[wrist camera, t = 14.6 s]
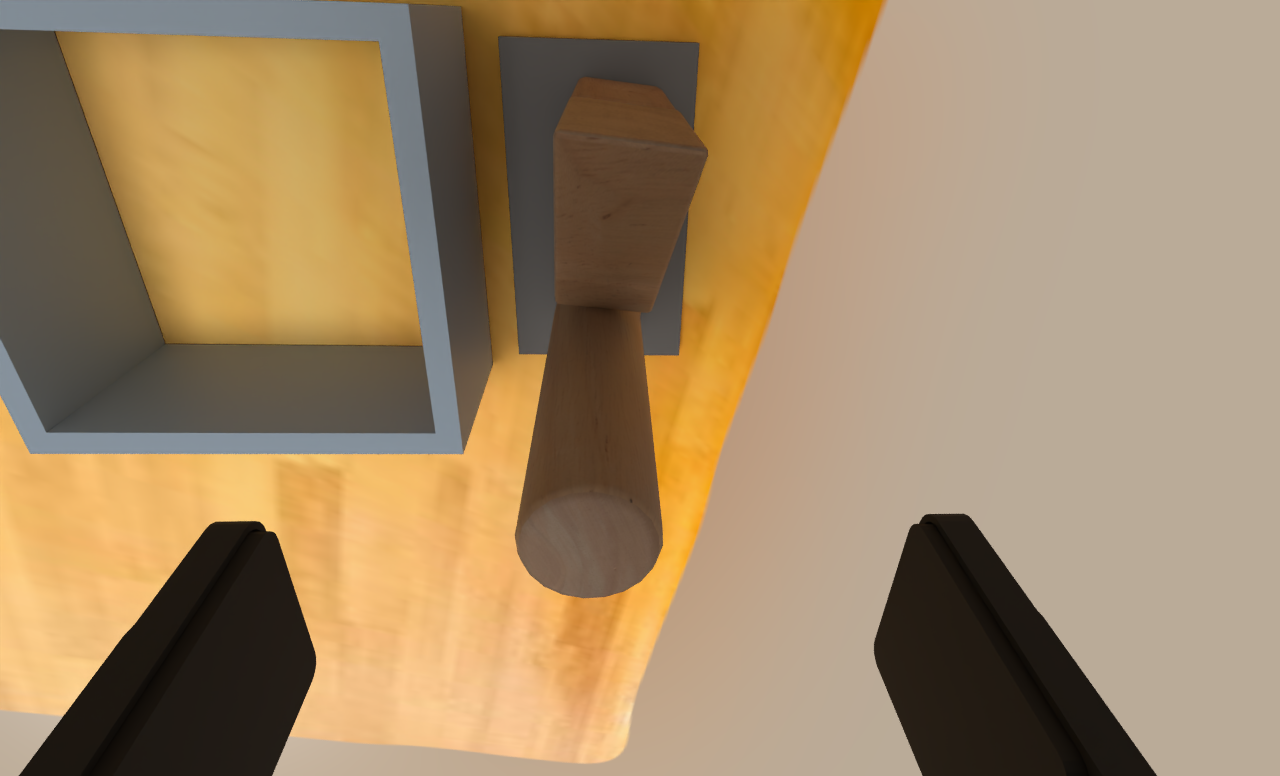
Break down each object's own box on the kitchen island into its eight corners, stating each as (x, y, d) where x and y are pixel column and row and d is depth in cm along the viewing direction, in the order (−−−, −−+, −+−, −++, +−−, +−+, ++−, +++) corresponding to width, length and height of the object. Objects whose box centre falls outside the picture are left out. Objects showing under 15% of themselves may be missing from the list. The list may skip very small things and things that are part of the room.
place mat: (500, 36, 27) (498, 36, 26) (697, 42, 27) (699, 43, 27) (521, 347, 34) (519, 354, 33) (677, 348, 34) (678, 355, 33)
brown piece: (664, 86, 27) (741, 185, 12) (633, 324, 33) (656, 613, 17) (575, 74, 27) (530, 158, 11) (557, 317, 32) (510, 605, 16)
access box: (12, -10, 25) (-212, -18, 18) (460, 6, 26) (408, 4, 19) (151, 361, 33) (30, 453, 26) (492, 364, 34) (463, 453, 27)
